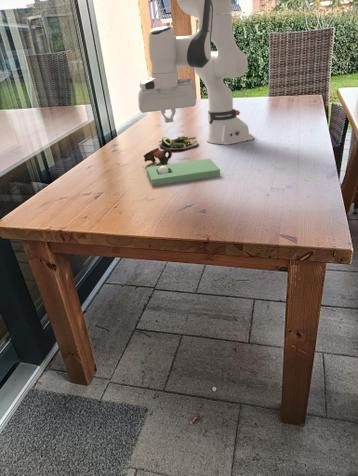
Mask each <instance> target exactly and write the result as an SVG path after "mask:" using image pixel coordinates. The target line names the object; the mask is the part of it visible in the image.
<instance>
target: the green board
mask: <svg viewBox="0 0 358 476" xmlns="http://www.w3.org/2000/svg"><path fill="white" fill-rule="evenodd" d="M161 166H165V167H167V168H168V173H166V174H158V169H159V168H160V167H161ZM161 166H157V165H155V166H148V167H146V174H147V177H148V179H149V181H150V184H151V186H152V187H157V186H162V185H169V184H176V183H181V182H189V181H197V180H201V179H203V180H204V179H208V178H215V177H216V178H217V177H221V170H220V168H219V167H218V166H217V164H216V163H215V162H213V160H212V159H211V158H203V159H197V160H191V161H183V162H177V163H168V165H161Z"/></svg>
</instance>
